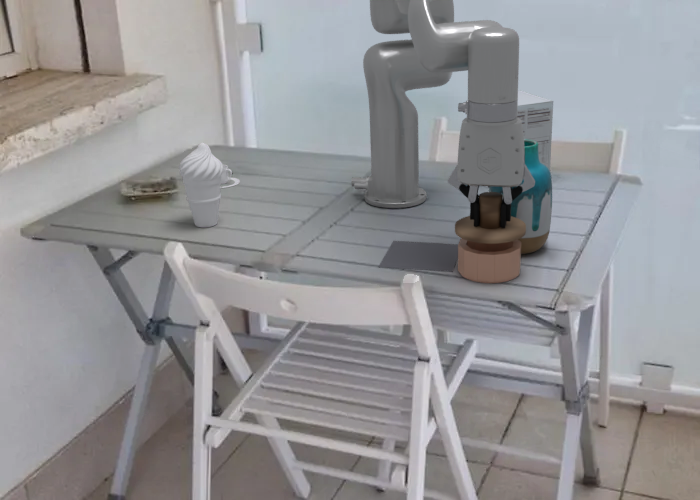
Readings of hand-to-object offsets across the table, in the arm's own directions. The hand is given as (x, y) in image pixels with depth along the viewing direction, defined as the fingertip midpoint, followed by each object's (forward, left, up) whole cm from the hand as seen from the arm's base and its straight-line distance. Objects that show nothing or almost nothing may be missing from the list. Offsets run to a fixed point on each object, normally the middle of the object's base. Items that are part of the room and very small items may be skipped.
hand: (490, 223), depth 150 cm
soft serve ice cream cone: (-56, +16, -9) cm, 59 cm away
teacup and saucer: (-64, +45, -10) cm, 79 cm away
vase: (+4, +11, -9) cm, 15 cm away
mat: (-12, +5, -9) cm, 16 cm away
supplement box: (-2, +53, -9) cm, 54 cm away
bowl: (0, 0, -9) cm, 9 cm away
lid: (0, 0, -1) cm, 1 cm away
